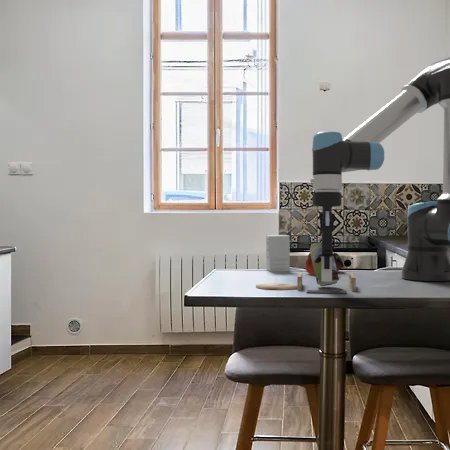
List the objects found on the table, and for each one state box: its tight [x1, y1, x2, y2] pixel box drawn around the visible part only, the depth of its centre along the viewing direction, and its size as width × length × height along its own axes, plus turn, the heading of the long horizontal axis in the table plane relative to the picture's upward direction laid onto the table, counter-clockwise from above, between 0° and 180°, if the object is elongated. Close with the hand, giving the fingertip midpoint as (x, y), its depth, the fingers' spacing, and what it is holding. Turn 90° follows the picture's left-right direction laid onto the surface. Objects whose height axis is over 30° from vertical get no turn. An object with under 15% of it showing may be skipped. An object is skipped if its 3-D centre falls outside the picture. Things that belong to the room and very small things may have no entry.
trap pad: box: [306, 289, 348, 295], centre depth 149 cm, size 10×4×1 cm, turn 81°
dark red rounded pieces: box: [304, 251, 345, 275], centre depth 196 cm, size 12×12×15 cm
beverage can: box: [309, 241, 340, 287], centre depth 160 cm, size 6×7×12 cm
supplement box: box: [265, 234, 291, 273], centre depth 206 cm, size 7×7×13 cm
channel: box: [296, 271, 357, 292], centre depth 159 cm, size 15×12×4 cm
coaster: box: [255, 283, 297, 291], centre depth 160 cm, size 12×12×1 cm
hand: (326, 281), depth 154 cm, fingers closed
